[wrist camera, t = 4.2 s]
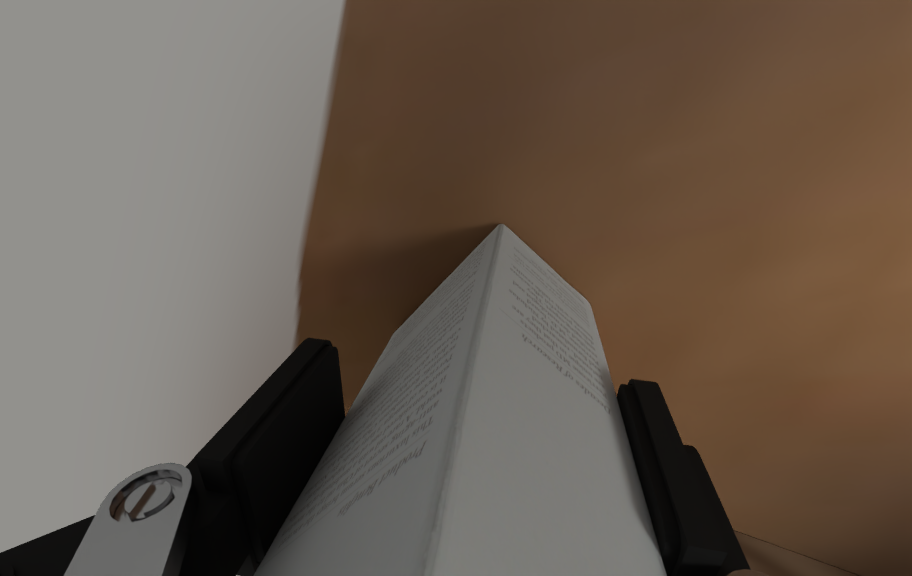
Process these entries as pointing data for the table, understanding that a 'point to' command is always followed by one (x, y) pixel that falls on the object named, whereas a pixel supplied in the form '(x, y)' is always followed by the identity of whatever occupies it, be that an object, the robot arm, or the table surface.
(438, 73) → the table surface
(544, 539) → the skincare box
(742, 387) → the table surface
